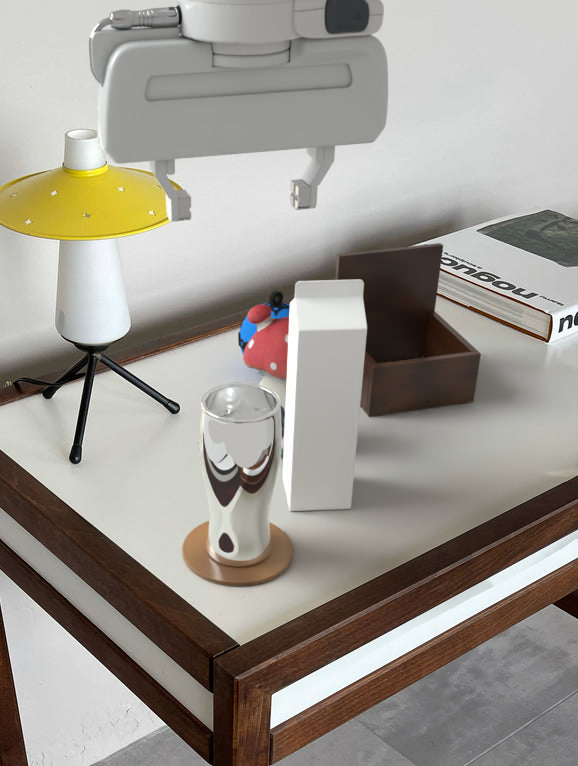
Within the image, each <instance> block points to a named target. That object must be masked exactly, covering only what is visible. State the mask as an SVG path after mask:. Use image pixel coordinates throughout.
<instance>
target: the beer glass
mask: <svg viewBox="0 0 578 766" xmlns="http://www.w3.org/2000/svg"><path fill="white" fill-rule="evenodd" d="M280 405H281V401H280V398H279V396H278V395H277V394H276V393H275V392H274V391H272V390H271V389H269V388H266V387H264V386H261V385H259V384H258V383H257V384H256V383H249V382H231V383H230V382H229V383H225V384H220V385H218V386H215V387H213V388H210V389H209V390H208V391H206V392H205V393H204V395H202V398H201V400H200V418H199V430H198V431H199V433H198V434H199V435H198V452H199V464H200V471H201V474H202V475H201V476H202V481H203V486H204V490H205V494H206V498H207V504H208V511H209V520H208V521H209V527H208V531H207V536H206V542H205V547H206V551H207V553H208V554H209V556H210V557H211V558H212V559H214V560H215V561H217V562H219V563H221V564H224V565H227V566H233V567H246V566H251V565H255V564H258V563H260V562H262V561H263V560H265V559H266V558H267V557H268V556H269V555H270V553H271V551H272V547H273V544H272V537H271V531H270V525H269V523H270V511H271V510H270V509H271V506H272V505H271V504H272V500H273V495H274V493H275V488H276V484H277V479H278V476H279V471H280V465H281V460H282V459H281V447H282V427H281V409H280Z"/></svg>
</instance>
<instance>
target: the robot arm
mask: <svg viewBox="0 0 578 766" xmlns="http://www.w3.org/2000/svg"><path fill="white" fill-rule="evenodd" d="M384 13H385V7H384V3H383V2H382V0H176V6H167V7H165V6H164V7H153V8H147V9H142V10H131V9H117V10H113V11H111V12H109V17H105V18H103V19H102V20H100V21H99V22H98V23H97V24H96V25H95V26H94V27H93V29H92V30H91V32H90V35H89V38H88V52H89V53H88V55H89V68H90V72H91V74H92V76H93V78H94V79H95V81H96V82H97V84H98V86H97V98H96V99H97V100H96V137H97V142H98V144H99V148H100V149H101V150H102V152H103V153H104V154H105V155H106V156H107V157H108V158H109V159H110V160H111V161H112V162H114V163H116V164H119V165H120V164H135V163H145V162H148V167H149V170H150V171H151V173H152V174H153V176H154V178H155V179H156V181H157V183H158V184H159V185H160V187H161V189H162V190H163V192H164V193H165V211H166V217H167V218H168V220H169V222H170V223H175V222H183V221H191V220H192V212H191V210H190V209H191V208H192V197H191V195H190V194H189V193H188V190H186V189H176V188H175V187H174V185H173V183H172V182H171V180H170V179H169V177H168V176H172V175H175V173H176V160H181V159H192V158H203V157H217V156H228V155H229V156H230V155H241V154H253V153H264V152H265V153H267V152H275V151H276V152H278V151H288V150H289V151H290V150H301V149H306V154H307V155H308V156H309V157H311V159H310V161H309V163H308V165H307V166H306V168H305V170H304V172H303V174H302V176H301V178H299V179H291V180H290V191H291V194H290V195H289V201H290V205H291V207H292V208H294V209H295V210H296V211H300V210H301V211H302V210H311V209H312V210H313V209H315V208H316V207H317V201H318V186H320V185H321V183H323V180H324V178H325V177H326V175H327V173H328V172H329V170H330V169H331V167H332V165H333V164H334V162H335V155H336V147H339V146H350V145H360V144H361V145H363V144H372V143H374V142H376V140H377V139H378V138H379V137H380V135H381V134H382V133H383V131H384V130H385V128H386V124H387V118H388V107H389V67H388V66H389V64H388V63H389V62H388V57H387V52H386V50H385V49H386V48H385V47H384V45H383V43H382V41H381V40H380V39H379V38H378V37H376V36H374V34H376V33H378V32H379V31H380V30H381V28H382V26H383V22H384V16H385V15H384ZM109 25H110V28H109V29H108V28H107V29H106V28H105V27H107V26H109ZM104 28H105V29H104Z"/></svg>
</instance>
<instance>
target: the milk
mask: <svg viewBox="0 0 578 766" xmlns="http://www.w3.org/2000/svg"><path fill="white" fill-rule="evenodd" d="M363 290H364V282H363V281H362V280H361V279H357V280H335V279H328V280H322V279H321V280H298V281H297V282H296V283H295V284H294V298H293V299H292V300H291V301H290V302H289V305H290V312H289V336H288V359H287V383H286V406H285V430H284V453H283V458H282V481H283V487H284V492H285V496H286V500H287V506H288V510H289V512H305V511H330V510H334V511H335V510H351V508H352V501H353V499H352V498H353V489H354V478H355V467H356V466H355V465H356V454H357V444H358V435H359V434H358V433H359V423H360V422H359V421H360V412H361V406H360V402H361V391H362V380H363V369H364V358H365V347H366V336H367V322H366V315H365V308H364V301H363Z"/></svg>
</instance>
